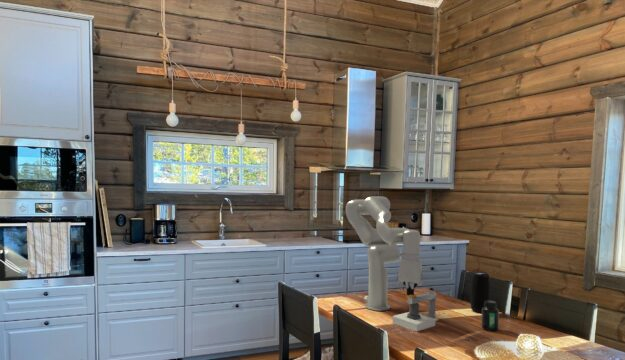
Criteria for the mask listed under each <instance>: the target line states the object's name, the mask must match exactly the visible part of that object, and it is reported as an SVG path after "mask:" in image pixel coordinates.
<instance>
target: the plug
mask: <svg viewBox="0 0 625 360" xmlns="http://www.w3.org/2000/svg"><path fill="white" fill-rule="evenodd" d="M408 312H409V313H408V314H407V317H408V318H410V319H413V320H417V319H420V317H421V315H419V314H420V313H419V312H420V304H419V303H416V304H409V311H408Z"/></svg>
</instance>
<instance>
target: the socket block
mask: <svg viewBox="0 0 625 360" xmlns="http://www.w3.org/2000/svg"><path fill="white" fill-rule="evenodd" d="M436 299H437V298H436ZM436 299H432V300H428V312H427V313H428V316H427V315H424V314H422V313H419V315H421V317H420V319H417V320H413V319H410V318H408V317H407V314H408V313H409V311H408V312H404V313H399V314H394V315H393V316H392V324H393V325H397V326H399V327H402V328H406V329H408V330H411V331H414V332H420V331H423V330H427V329H430V328H432V327H436V322H437V321H439V319H437V318H436V301H437V300H436Z"/></svg>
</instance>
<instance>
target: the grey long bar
mask: <svg viewBox="0 0 625 360" xmlns="http://www.w3.org/2000/svg"><path fill="white" fill-rule="evenodd" d="M405 298H407V304H409V305H410V304H416V303H418V304H419V303H424V302H427V301H428V302H429V300H432V299H437V292H435V291H428V292H425V293H421V294H417V295H415V294H414V295H407V294H406V295H405Z"/></svg>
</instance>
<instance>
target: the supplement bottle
mask: <svg viewBox="0 0 625 360" xmlns="http://www.w3.org/2000/svg"><path fill="white" fill-rule="evenodd" d="M497 304H498V303H497V302H496V300H495V301H494V300H490V299H489V300H485V304H484V305H485V306H484V307H483V308H482V312H481V328H482V330H484V331H487V332H498V331H499V327H500V326H499V324H500V311H499V309H498V308H497V307H498V305H497Z"/></svg>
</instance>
